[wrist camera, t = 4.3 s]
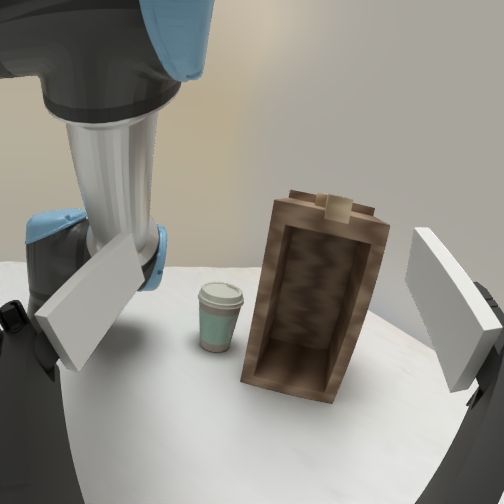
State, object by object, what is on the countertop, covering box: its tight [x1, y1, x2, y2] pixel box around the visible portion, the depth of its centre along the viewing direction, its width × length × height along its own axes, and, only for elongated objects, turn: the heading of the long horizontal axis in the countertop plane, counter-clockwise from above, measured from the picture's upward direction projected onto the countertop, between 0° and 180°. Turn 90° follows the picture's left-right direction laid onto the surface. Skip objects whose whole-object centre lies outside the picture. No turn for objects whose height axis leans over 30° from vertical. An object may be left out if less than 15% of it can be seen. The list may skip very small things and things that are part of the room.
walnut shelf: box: [240, 190, 390, 404], centre depth 49 cm, size 16×16×32 cm
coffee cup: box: [198, 282, 244, 352], centre depth 55 cm, size 9×8×12 cm
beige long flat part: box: [315, 193, 353, 224], centre depth 38 cm, size 6×28×2 cm, turn 166°
